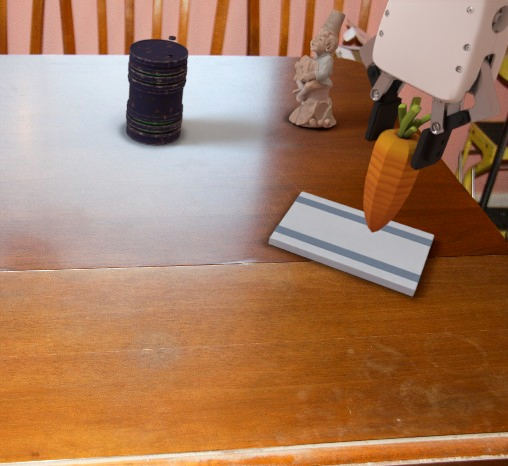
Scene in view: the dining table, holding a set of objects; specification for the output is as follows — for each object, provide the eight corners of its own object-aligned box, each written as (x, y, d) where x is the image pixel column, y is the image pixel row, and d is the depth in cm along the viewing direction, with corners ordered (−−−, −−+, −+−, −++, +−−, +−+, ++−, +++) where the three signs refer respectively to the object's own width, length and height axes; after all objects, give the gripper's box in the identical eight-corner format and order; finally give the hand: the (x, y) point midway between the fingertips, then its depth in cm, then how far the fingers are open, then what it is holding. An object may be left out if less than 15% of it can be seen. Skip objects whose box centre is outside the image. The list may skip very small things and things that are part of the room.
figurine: (321, 109, 127) (345, 5, 115) (341, 130, 120) (369, 22, 108) (278, 112, 125) (299, 6, 112) (297, 133, 118) (321, 24, 106)
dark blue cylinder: (113, 128, 115) (116, 27, 104) (155, 113, 121) (162, 16, 110) (150, 151, 109) (158, 47, 99) (192, 135, 115) (204, 35, 104)
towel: (431, 241, 94) (434, 234, 94) (412, 297, 84) (415, 289, 84) (300, 197, 101) (302, 190, 101) (268, 244, 91) (269, 236, 91)
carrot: (366, 212, 71) (408, 83, 62) (406, 235, 68) (456, 103, 59) (338, 228, 68) (378, 95, 59) (378, 252, 65) (426, 117, 56)
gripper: (599, -24, 47) (501, 186, 58) (414, -79, 58) (362, 106, 69) (538, -13, 44) (446, 208, 55) (355, -74, 55) (309, 120, 66)
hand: (400, 149), depth 62 cm, fingers closed on carrot, 4 cm apart
